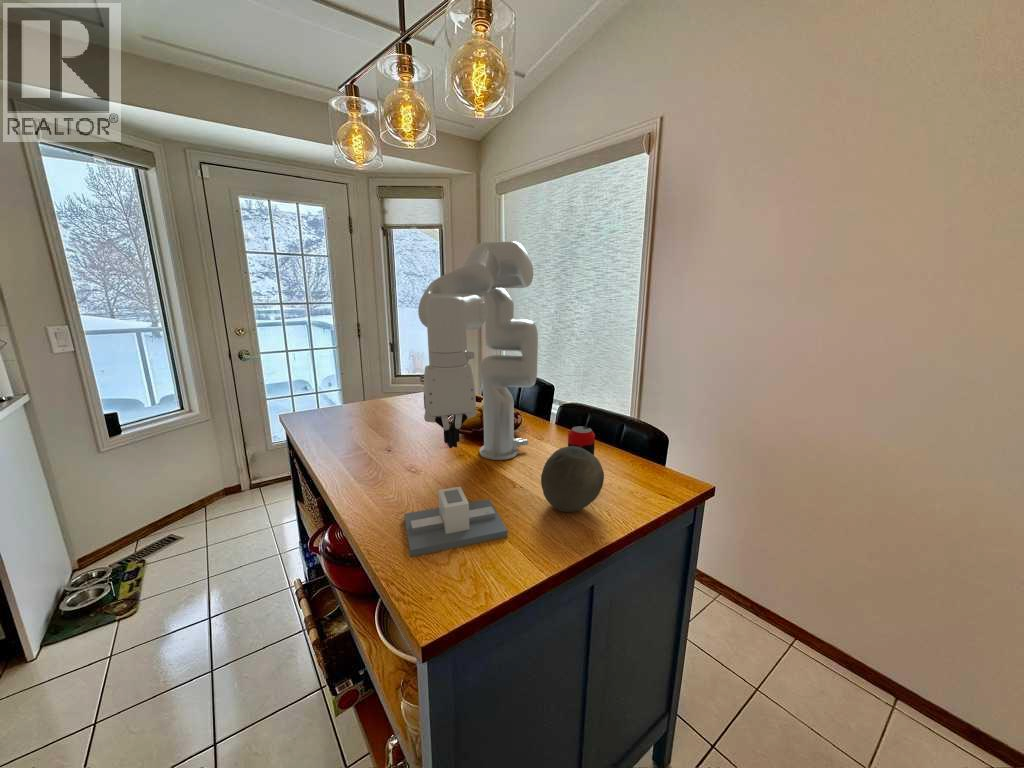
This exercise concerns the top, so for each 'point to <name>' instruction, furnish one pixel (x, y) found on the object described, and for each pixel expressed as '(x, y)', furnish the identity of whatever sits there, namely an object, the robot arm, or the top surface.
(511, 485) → the top surface
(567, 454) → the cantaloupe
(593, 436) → the soda can
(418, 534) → the board
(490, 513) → the steel rail
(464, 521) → the module
